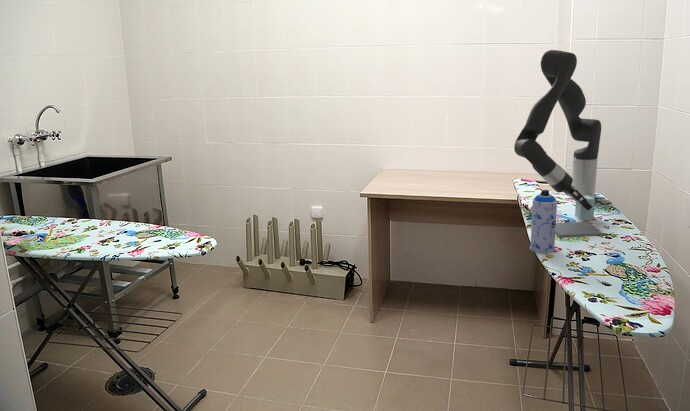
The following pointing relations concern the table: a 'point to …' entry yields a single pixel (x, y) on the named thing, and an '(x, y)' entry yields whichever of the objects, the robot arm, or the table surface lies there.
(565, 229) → the mat
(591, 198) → the block
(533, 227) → the aerosol can
